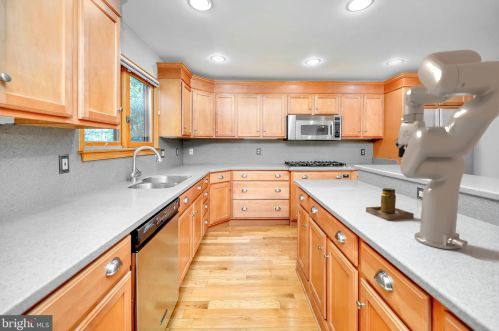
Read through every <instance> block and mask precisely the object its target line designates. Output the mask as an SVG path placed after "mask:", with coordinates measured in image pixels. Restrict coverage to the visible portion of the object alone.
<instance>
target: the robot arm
mask: <svg viewBox="0 0 499 331" xmlns="http://www.w3.org/2000/svg"><path fill="white" fill-rule="evenodd" d="M418 66H419V67H418V69H417V77H418V79H419V81H420V83H421V84H422V85H414V86H413V85H412V86H409V88H408V89H407V90H406V92H405V93H404V96H403V112H402V114H403V116H402V118H401V122H402V123H400V126H399V131H398V137H397V138H395V139H394V143H395V147H397V149H398V158H401V160H400V166H399V167H400V173H401V174H402V175H403V177H405V178H408V179H415V180H416V179H417V180H430V181H429V182H428V183H427V184H426V185H425V187H424V188H423V191H422V197H421V198H422V200H421V212H420V213H421V214H420V226H419V229H420V230H419V231H418V232H416V233H414V239H415V240H416V241H417V242H419V243H421V244H424V245H425V246H430V247H433V248H437V249H443V250H458V249H466V248H467V247H468V246H467V245H468V243H469V242H468V241H467V240H466V239H461V238H460V233H457V220H458V219H457V218H458V209H459V208H458V207H459V198H460V197H459V196H460V188H461V184H462V183H461V182H462V178H463V176H464V173H465V170H466V166H467V165H466V160H465V158H464V156H467V155H468V154H470V153H471V152H472V151H473V150H474V148H475V147H476V146H477V145H478V142H479V141H480V140H481V138H482V137H483V135H484V134H485V133H486V131H487V130H488V129H489V127H490V125H491V124H492V123H493V122H494V121H495V119H496V118H497V117H499V60H490V61H489V60H487V61H486V60H485V61H482V56H481V55H480V53H479V52H477V51H475V50H471V49H457V50H447V51H437V52H431V53H429V54H428V55H426V56H425V57H424V58H423V59H422V60H421V62H420V63H419V65H418ZM469 96H470V97H471V96H472V97H473V98H472V99H471V100H469V101H467V102H465V103H464V104H462V105H461V106H460V107H458V108H457V109H456V110H455V111H454V112H453V113H452V115H451V117H450V118H449V120H448V122H447V123H446V124H445V125H442V126H441V125H440V126H426V122H425V119H424V118H425V116H424V115H425V105H432V104H433V105H435V104H436V105H438V104H442V103H445V102H447V101H448V100H451V99H452V98H453V97H454V98H455V97H456V98H457V97H469ZM405 148H406V149H405Z"/></svg>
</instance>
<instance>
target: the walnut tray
mask: <svg viewBox="0 0 499 331" xmlns="http://www.w3.org/2000/svg"><path fill="white" fill-rule="evenodd" d="M379 211H381V205H380V206H367V207H366V208H365V213H367V214H370V215H373V216H374V217H378V218H380V219H383V220H385V221H400V220H411V219H412V220H413V219H414V216H415V214H414V213H413V212H410V211H407V210H403V209H400V208H397V207H395V212H398V213H399V214H391V215H388V214H385V213H382V212H379Z"/></svg>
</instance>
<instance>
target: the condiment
mask: <svg viewBox="0 0 499 331" xmlns="http://www.w3.org/2000/svg"><path fill="white" fill-rule="evenodd" d="M380 196H381V198H380V199H381V200H380V206H381V211H379V212H382V213H385V214H388V215H391V214H399V213H398V212H395V208H396V205H397V204H396V201H397V196H396V189H394V188H387V187H385V188H382V192H381V195H380Z"/></svg>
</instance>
